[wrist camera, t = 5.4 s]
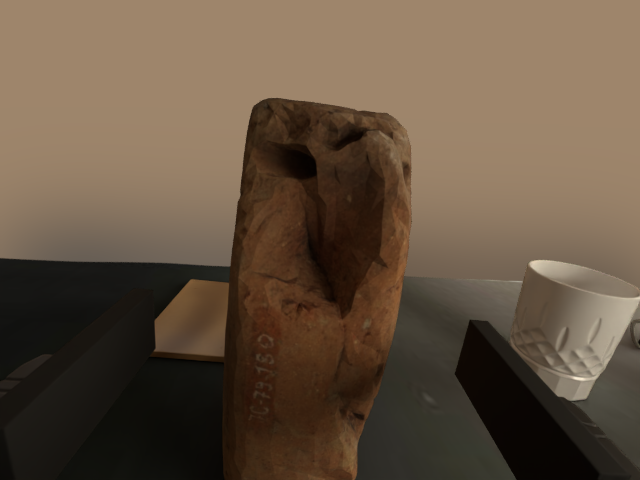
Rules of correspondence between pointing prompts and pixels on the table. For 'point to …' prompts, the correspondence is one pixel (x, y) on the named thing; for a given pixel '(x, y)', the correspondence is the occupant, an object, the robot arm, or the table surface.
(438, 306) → the table surface
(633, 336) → the clip-on lamp
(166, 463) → the table surface
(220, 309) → the cork mat
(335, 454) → the block
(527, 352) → the white cup
